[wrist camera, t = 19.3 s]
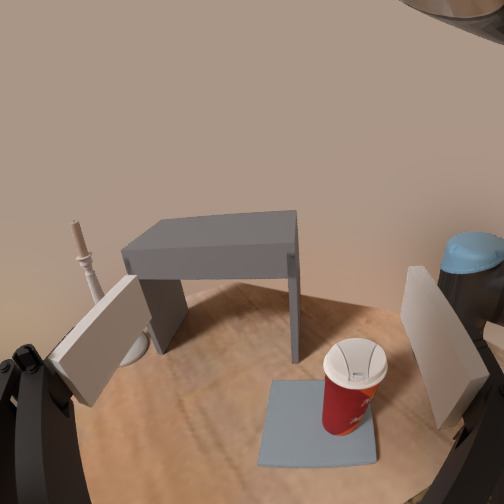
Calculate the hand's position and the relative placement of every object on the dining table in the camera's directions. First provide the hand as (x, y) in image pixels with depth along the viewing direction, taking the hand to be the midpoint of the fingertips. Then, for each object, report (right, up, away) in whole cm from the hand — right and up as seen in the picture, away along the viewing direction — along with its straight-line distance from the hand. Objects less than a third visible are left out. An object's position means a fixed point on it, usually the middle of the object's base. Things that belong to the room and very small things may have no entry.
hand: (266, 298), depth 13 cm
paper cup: (+12, -22, +21) cm, 33 cm away
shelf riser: (-5, -15, +45) cm, 47 cm away
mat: (+9, -23, +22) cm, 34 cm away
